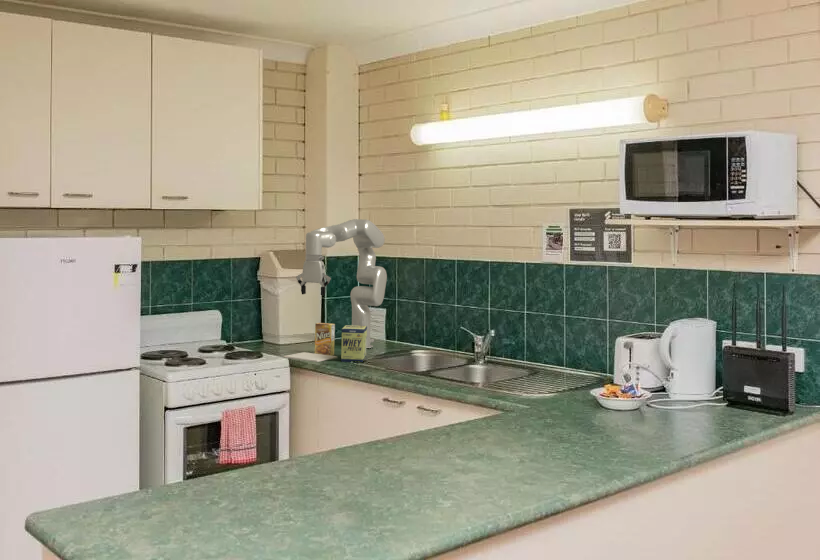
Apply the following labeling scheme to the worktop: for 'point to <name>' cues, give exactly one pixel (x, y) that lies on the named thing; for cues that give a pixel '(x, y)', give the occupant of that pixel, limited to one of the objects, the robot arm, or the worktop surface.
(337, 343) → the worktop surface
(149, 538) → the worktop surface
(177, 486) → the worktop surface
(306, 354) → the mat
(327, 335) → the candy box
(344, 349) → the protein box
